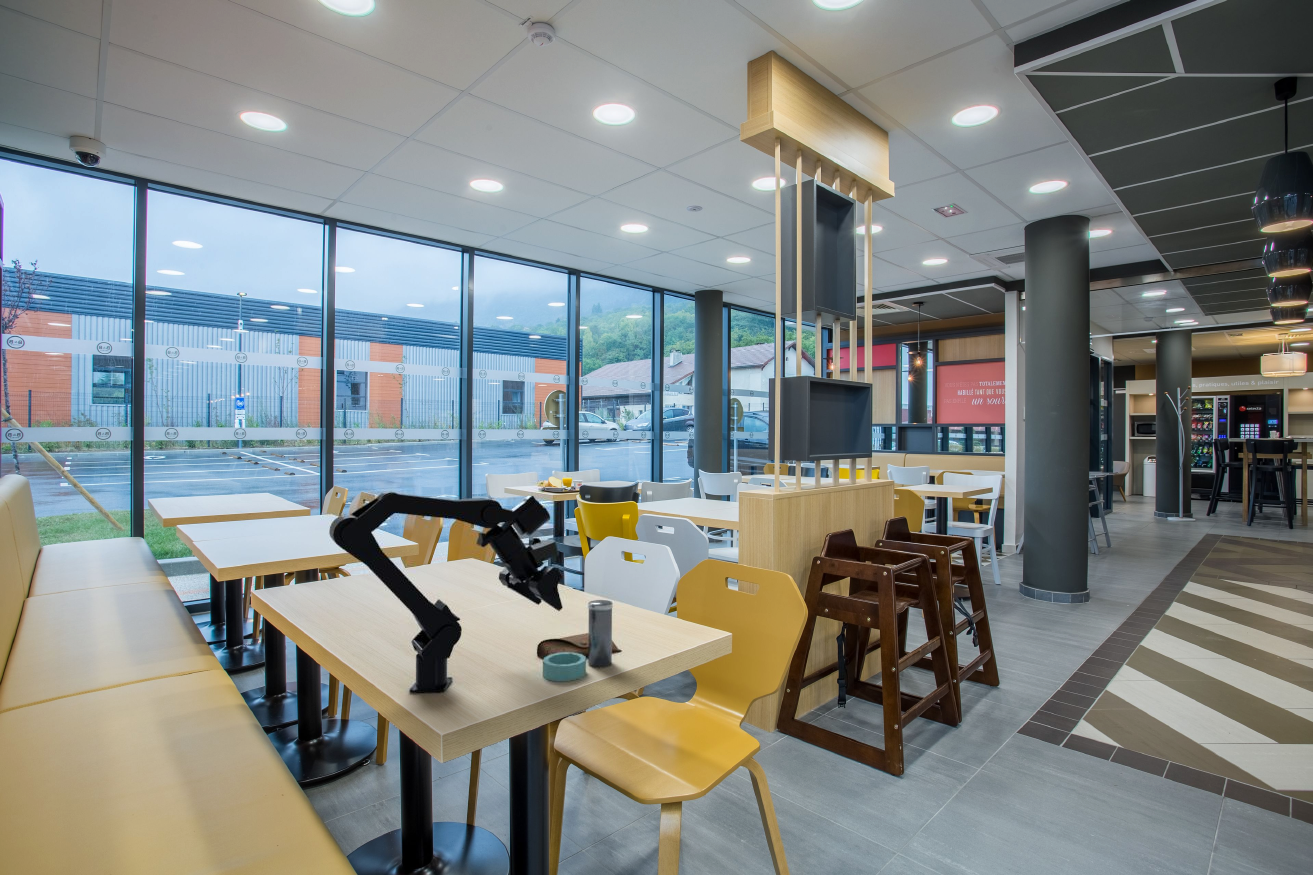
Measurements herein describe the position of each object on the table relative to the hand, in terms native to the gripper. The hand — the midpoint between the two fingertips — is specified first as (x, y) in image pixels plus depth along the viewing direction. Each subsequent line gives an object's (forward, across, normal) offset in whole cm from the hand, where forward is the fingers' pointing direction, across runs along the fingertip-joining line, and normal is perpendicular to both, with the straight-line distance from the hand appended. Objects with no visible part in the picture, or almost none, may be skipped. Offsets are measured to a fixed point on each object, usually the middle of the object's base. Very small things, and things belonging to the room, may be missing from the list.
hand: (549, 606), depth 136 cm
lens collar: (+10, -7, +8) cm, 14 cm away
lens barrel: (+15, -6, 0) cm, 16 cm away
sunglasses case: (+16, +2, 0) cm, 16 cm away
